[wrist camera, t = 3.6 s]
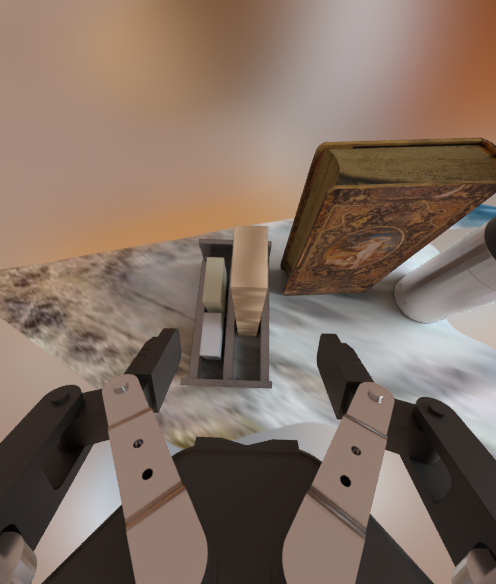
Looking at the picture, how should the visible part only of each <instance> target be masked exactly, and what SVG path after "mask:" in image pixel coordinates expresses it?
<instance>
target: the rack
mask: <svg viewBox="0 0 496 584" xmlns="http://www.w3.org/2000/svg"><path fill="white" fill-rule="evenodd" d="M233 244H234V240H216V239H199V246H200V248H201V251H202V254H203V261H202V269H201V278H200V286H199V294H198V303H197V311H196V319H195V328H194V336H193V345H192V353H191V361H190V370H189V378H181V383H180V385H195V386H223V387H250V388H272V381H269V256H270V251H271V241H268V288H267V293H266V297H265V301H264V305H263V310H262V314H261V318H260V350H259V381H246V380H233V363H234V345H235V327H236V317H235V311H234V305H233V298H232V292H231V274H232V259H233ZM207 257H217V258H224V261H225V267H229V268H230V281H229V296H228V310H227V325H226V339H225V354H224V368H223V380H218V379H202V372H203V362H204V357H202V356H200V346H201V337H202V327H203V318H204V313H208V311H207V309H206V307H205V306H204V304H203V302H202V299H203V290H204V281H205V272H206V263H207Z"/></svg>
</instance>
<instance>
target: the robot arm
mask: <svg viewBox="0 0 496 584" xmlns="http://www.w3.org/2000/svg"><path fill="white" fill-rule="evenodd" d="M394 297H395V300H396V303H397V305H398V307H399V308H400V309H401V311H402V312H403V313H404V314H405V315H406V316H408V317H409V318H411V319H413V320H415V321H417V322H421V323H433V322H437V321H440V320H443V319H446V318H449V317H452V316H456V315H459V314H462V313H465V312H468V311H471V310H474V309H478V308H481V307H484V306H487V305H490V304H493V303H496V216H495V217H494V218H492V219H491V220H489V221H488V222H486V223H485V224H483V225H482V226H480V227H479V228H477V229H476V230H474V231H473V232H471V233H470V234H468V235H467V236H465V237H464V238H462V239H461V240H459V241H458V242H456V243H455V244H453V245H452V246H450V247H449V248H447V249H446V250H444V251H443V252H441V253H440V254H438V255H437V256H435V257H434V258H432V259H431V260H429V261H427V262H426V263H424V264H423V265H421V266H420V267H418V268H417V269H415V270H414V271H412V272H411V273H409V274H408V275H406V276H405V277H403V278H402V279H401V280H399V281H398V283H397V284H396V286H395V290H394ZM180 359H181V346H180V337H179V330H178V329H173V328H164V329H163V330H162V331H161V333H160V335H159V336H158V337H153V338H151V339H150V340H148V341H147V342H146V343H145V344H144V346H143V347H142V349H141V350H140V351H139V353H138V354H137V356H136V357H135V359H134V360H133V361H132V363H131V364H130V366H129V367H128V369H127V370H126V372H125V373H124V374H123V375H120V376H117V377H115V378H113V379H111V380H110V381H109V382H107V383H106V384H105V386H104V387H103V389H99V390H94V391H90V392H85V393H82V392H81V389H80V388H79V387H78V386H76V385H66V386H62V387H59V388H57V389H55V390H53V391H51V392H49V393H48V394H47V395H45V396H44V397H43V398H42V399H41V400H40V401H39V403H37V405H36V406H35V407H34V408H33V409H32V410H31V411H30V412H29V413H28V414H27V415H26V416H25V417H24V418H23V419H22V421H21V422H20V423H19V424H18V425H17V426H16V427H15V428H14V429H13V430H12V431H11V433H9V435H8V436H7V437H6V438H5V439H4V440H3V441H2V442H1V443H0V584H31V583H32V580H33V578H34V576H35V572H36V568H37V558H36V555H35V553H34V550H35V548H36V546H37V544H38V543H39V541H40V539H41V537H42V536H43V534H44V532H45V530H46V528H47V527H48V525H49V523H50V521H51V520H52V518H53V516H54V514H55V512H56V511H57V509H58V507H59V505H60V504H61V502H62V500H63V498H64V496H65V494H66V493H67V491H68V489H69V487H70V486H71V484H72V482H73V480H74V479H75V477H76V475H77V473H78V471H79V470H80V468H81V466H82V464H83V462H84V461H85V459H86V457H87V455H88V453H89V452H90V450H91V448H92V446H93V445H94V444H95V443H99V442H102V441H106V440H110V444H111V449H112V454H113V459H114V465H115V470H116V475H117V480H118V486H119V490H120V496H121V501H122V505H121V506H120V507H119V508H118V509H117V510H116V511H115V512H114V513H113V514H112V515H111V516H110V517H109V518H108V519H106V520H105V521H104V523H103V524H101V525H100V526H99V527H98V528H97V529H96V530H95V531H94V532H93V533H92V534H91V535H90V536H89V537H88V538H87V539H86V540H85V541H84V542H83V543H82V544H81V545H80V546H79V547H78V548H77V549H76V550H75V551H74V552H73V553H72V554H71V555H70V556H69V557H68V558H67V559H66V560H65V561H64V562H63V563H62V564H61V565H60V566H59V567H58V568H57V569H56V570H55V571H54V572H53V573H52V574H51V575H50V576H49V577H48V578H47V579H46V580H45V581H44V582H43V583H42V584H434V583H433V582H432V581H431V580H430V579H429V578H428V577H427V575H426V574H425V573H424V572H423V571H422V570H421V569H420V568H419V567H418V566H417V564H415V562H414V561H413V560H412V559H411V558H410V557H409V556H408V555H407V554H406V553H405V552H404V550H403V549H402V548H401V547H400V546H399V545H398V544H397V543H396V542H395V540H394V539H393V538H392V537H391V536H390V535H389V534H388V533H387V532H386V531H385V529H384V528H383V527H382V526H381V525H380V524H379V523H378V522H377V521H376V520H375V518H374V517H373V516H372V515H371V514H370V511H371V506H372V502H373V498H374V494H375V489H376V485H377V481H378V477H379V472H380V468H381V464H382V460H383V455H384V451H385V450H388V451H391V452H394V453H397V454H399V455H400V457H401V459H402V461H403V463H404V465H405V467H406V469H407V471H408V473H409V475H410V477H411V479H412V481H413V483H414V485H415V487H416V489H417V491H418V493H419V495H420V497H421V499H422V501H423V503H424V505H425V507H426V509H427V511H428V513H429V515H430V517H431V519H432V521H433V523H434V525H435V527H436V529H437V531H438V533H439V535H440V537H441V539H442V541H443V543H444V545H445V547H446V549H447V551H448V553H449V555H450V557H451V559H452V561H453V563H454V565H455V569H454V570H453V573H452V584H496V460H495V459H494V458H493V456H492V455H491V454H490V453H489V452H488V450H487V449H486V448H485V447H484V446H483V444H482V443H481V442H480V441H479V440H478V439H477V437H476V436H475V435H474V434H473V433H472V431H471V430H470V429H469V428H468V427H467V426H466V424H465V423H464V422H463V421H462V420H461V418H460V417H459V416H458V415H457V414H456V413H455V412H454V410H452V409H451V408H450V407H449V406H448V405H446V404H444V403H443V402H441V401H439V400H436V399H434V398H430V397H421V398H419V399H418V400H417V401H416V404H412V403H408V402H405V401H401V400H398V399H395V398H394V397H393V395H392V394H391V393H390V392H389V391H388V390H387V389H386V388H384V387H383V386H381V385H379V384H376V383H374V381H373V379H372V378H371V376H370V375H369V373H368V372H367V370H366V368H365V367H364V365H363V364H362V363H361V360H360V359H359V358H358V356H357V354H356V353H355V351H354V349H352V348H351V347H350V346H349V345H347V344H346V343H341V341H340V340H339V338H338V336H337V335H336V334H321V336H320V341H319V347H318V352H317V366H318V369H319V372H320V375H321V377H322V380H323V383H324V385H325V388H326V391H327V394H328V396H329V399H330V402H331V404H332V407H333V410H334V412H335V415H336V418H337V419H342V420H341V422H340V424H339V427H338V429H337V431H336V433H335V435H334V437H333V440H332V442H331V444H330V446H329V449H328V450H327V453H326V455H325V457H324V459H323V461H322V462H321V461H320V460H319V459H317V458H316V457H315V456H313V455H311V454H309V453H307V452H305V451H303V450H300V449H299V447H298V441H297V440H273V439H272V440H268V441H264V442H260V443H256V444H251V445H243V444H240V443H237V442H233V441H230V440H227V439H224V438H213V437H196V441H195V446H192V447H189V448H186V449H184V450H182V451H180V452H178V453H176V454H175V455H173V456H172V457H171V455H170V452H169V450H168V447H167V445H166V442H165V440H164V437H163V435H162V432H161V430H160V427H159V425H158V423H157V420H156V418H155V415H154V413H159V410H160V408H161V405H162V403H163V401H164V398H165V396H166V394H167V391H168V389H169V386H170V384H171V382H172V379H173V377H174V375H175V372H176V370H177V367H178V365H179V363H180Z"/></svg>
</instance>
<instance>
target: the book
mask: <svg viewBox="0 0 496 584" xmlns="http://www.w3.org/2000/svg"><path fill="white" fill-rule="evenodd" d="M495 193H496V146H495V145H494V144H493V143H491V142H489V141H488V140H485V139H483V138H457V139H456V138H455V139H454V138H453V139H422V140H421V139H419V140H388V141H387V140H384V141H354V142H353V141H351V142H325V143H322V144H321V145H319V147H318V148H317V150H316V152H315V155H314V158H313V160H312V164H311V167H310V170H309V173H308V177H307V180H306V183H305V186H304V190H303V193H302V196H301V199H300V203H299V206H298V209H297V212H296V216H295V219H294V222H293V225H292V229H291V232H290V235H289V238H288V242H287V245H286V248H285V251H284V255H283V258H282V261H281V270H284V271H285V272H286V274H287V275H288V278H289V279H288V281H287V283H286V286H285V288H284V295H286V296H292V295H317V294H339V293H360V292H365V291H367V290H368V289H369V288H371V287H372V286H373V285H375V284H376V283H377V282H379V281H380V280H381V279H383V278H384V277H385V276H386V275H388V274H389V273H390V272H392V271H393V270H394V269H396V268H397V267H398V266H400V265H401V264H402V263H404V262H405V261H406V260H408V259H409V258H410V257H412V256H413V255H414V254H416V253H417V252H418V251H420V250H421V249H422V248H423V247H425V246H426V245H427V244H429V243H430V242H431V241H433V240H434V239H435V238H437V237H438V236H439V235H441V234H442V233H443V232H444V231H446V230H447V229H449V228H450V227H451V226H453V225H454V224H455V223H457V222H458V221H459V220H460V219H462V218H463V217H464V216H466V215H467V214H468V213H470V212H471V211H472V210H474V209H475V208H476V207H478V206H479V205H480V204H482V203H483V202H484V201H486V200H487V199H488V198H490V197H491V196H492V195H493V194H495Z"/></svg>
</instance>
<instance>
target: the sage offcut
mask: <svg viewBox="0 0 496 584" xmlns="http://www.w3.org/2000/svg"><path fill="white" fill-rule="evenodd" d="M227 293H228V278H227V272H226V267H225V261H224V258H217V257H207V263H206V272H205V281H204V290H203V299H202V302H203V304H204V306H205V307H206V309H207V311H208V313H221V314H222V317H223V319H226V307H227Z"/></svg>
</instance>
